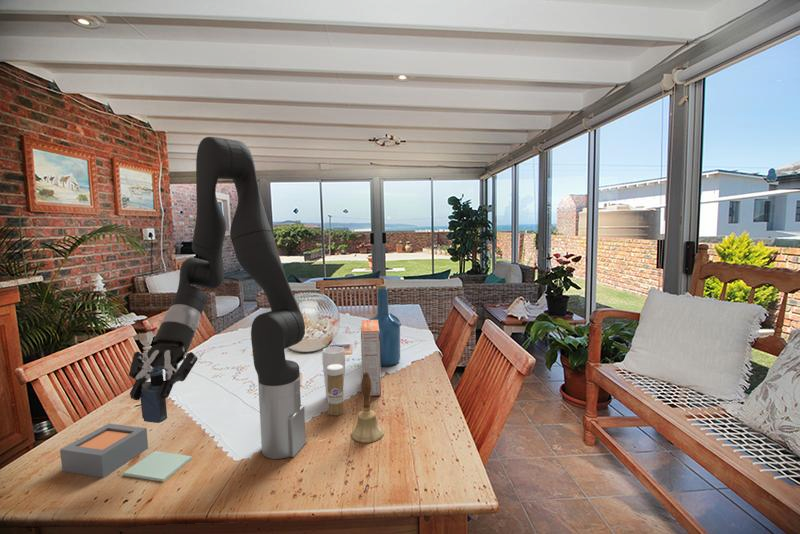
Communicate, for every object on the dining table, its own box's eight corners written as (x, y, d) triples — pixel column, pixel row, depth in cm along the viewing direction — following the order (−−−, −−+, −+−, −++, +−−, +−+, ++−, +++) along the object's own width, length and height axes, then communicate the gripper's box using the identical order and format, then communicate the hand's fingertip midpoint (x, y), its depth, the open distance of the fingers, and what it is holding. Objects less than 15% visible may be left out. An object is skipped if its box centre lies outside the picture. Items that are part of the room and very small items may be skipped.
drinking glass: (335, 404, 113) (334, 354, 111) (318, 398, 116) (317, 351, 115) (350, 395, 118) (349, 348, 117) (333, 390, 122) (332, 344, 120)
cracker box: (362, 379, 131) (361, 319, 129) (379, 378, 131) (378, 319, 129) (361, 397, 117) (360, 330, 115) (381, 396, 117) (380, 330, 115)
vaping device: (160, 424, 81) (155, 370, 80) (139, 421, 82) (134, 368, 81) (170, 417, 84) (165, 365, 82) (150, 415, 85) (145, 363, 83)
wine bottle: (362, 366, 142) (360, 287, 139) (370, 354, 155) (369, 282, 152) (398, 368, 140) (397, 288, 137) (403, 356, 153) (403, 282, 150)
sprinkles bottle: (329, 417, 105) (328, 370, 103) (326, 410, 109) (325, 364, 107) (346, 414, 106) (345, 367, 105) (342, 407, 111) (340, 362, 109)
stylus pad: (192, 458, 87) (192, 456, 86) (163, 481, 79) (163, 479, 79) (155, 453, 89) (155, 451, 89) (123, 475, 81) (123, 472, 81)
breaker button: (133, 445, 89) (132, 433, 89) (104, 464, 82) (103, 451, 82) (108, 442, 91) (107, 430, 90) (78, 460, 84) (77, 447, 84)
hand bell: (344, 434, 96) (342, 373, 94) (368, 422, 102) (367, 364, 100) (366, 447, 91) (365, 382, 89) (390, 433, 97) (389, 372, 95)
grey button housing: (148, 448, 91) (146, 428, 90) (103, 477, 80) (101, 455, 80) (110, 442, 93) (108, 423, 93) (62, 471, 82) (59, 449, 82)
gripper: (140, 319, 88) (102, 392, 77) (201, 320, 88) (171, 393, 77) (157, 335, 94) (124, 404, 83) (214, 335, 93) (188, 405, 83)
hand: (147, 398), depth 80 cm, fingers closed on vaping device, 5 cm apart
